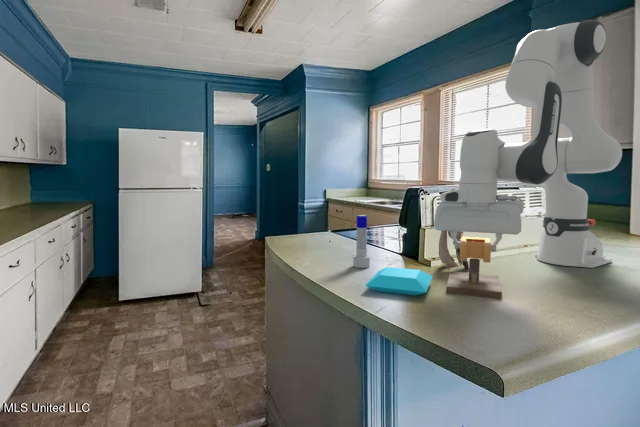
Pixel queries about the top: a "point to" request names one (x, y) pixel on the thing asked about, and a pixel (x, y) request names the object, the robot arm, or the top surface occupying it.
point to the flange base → (474, 282)
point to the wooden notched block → (475, 248)
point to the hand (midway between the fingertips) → (474, 249)
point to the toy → (445, 253)
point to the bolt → (361, 244)
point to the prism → (400, 281)
